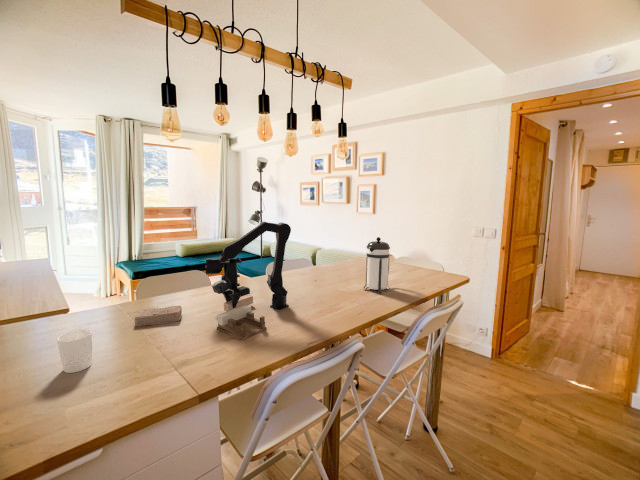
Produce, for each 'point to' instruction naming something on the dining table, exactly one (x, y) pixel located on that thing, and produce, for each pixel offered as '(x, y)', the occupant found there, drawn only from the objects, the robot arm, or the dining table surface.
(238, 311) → the strip
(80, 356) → the white cup
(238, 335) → the rack
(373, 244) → the coffee press
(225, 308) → the clay strip
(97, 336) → the dining table surface
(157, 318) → the brick
